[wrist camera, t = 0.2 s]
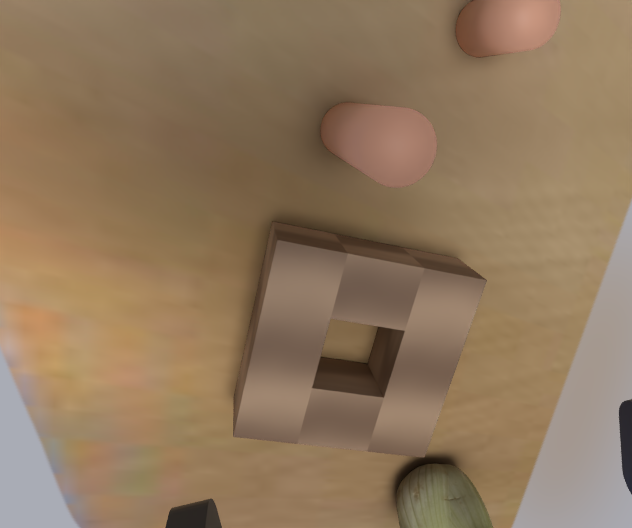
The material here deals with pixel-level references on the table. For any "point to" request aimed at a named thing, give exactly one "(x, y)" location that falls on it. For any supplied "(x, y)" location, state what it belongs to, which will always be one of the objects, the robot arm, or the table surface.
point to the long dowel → (381, 141)
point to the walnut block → (345, 376)
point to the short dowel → (506, 25)
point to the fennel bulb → (440, 499)
